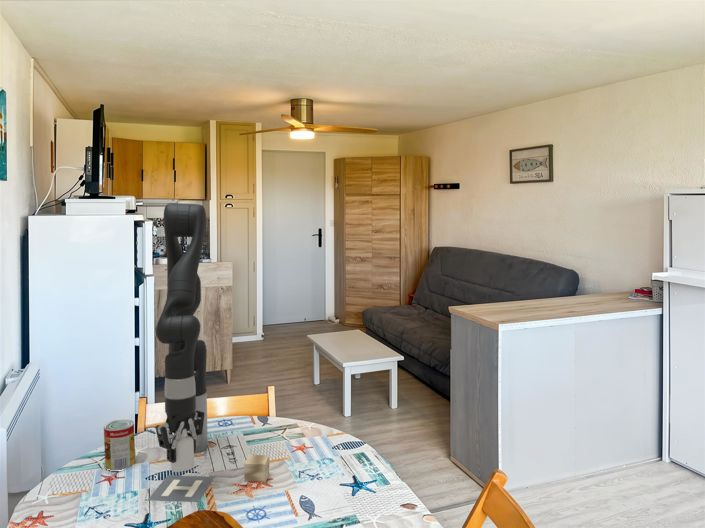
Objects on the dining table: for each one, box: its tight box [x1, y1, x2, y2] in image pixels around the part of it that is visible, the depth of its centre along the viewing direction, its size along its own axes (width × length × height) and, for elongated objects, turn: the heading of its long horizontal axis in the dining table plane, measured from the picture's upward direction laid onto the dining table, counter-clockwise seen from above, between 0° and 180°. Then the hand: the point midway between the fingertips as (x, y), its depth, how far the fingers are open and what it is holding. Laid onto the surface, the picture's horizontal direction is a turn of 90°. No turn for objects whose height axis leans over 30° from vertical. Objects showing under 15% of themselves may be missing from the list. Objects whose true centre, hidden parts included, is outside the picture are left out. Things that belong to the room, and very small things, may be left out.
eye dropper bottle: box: [170, 429, 195, 473], centre depth 139 cm, size 4×6×12 cm
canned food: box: [103, 418, 136, 470], centre depth 154 cm, size 8×8×12 cm
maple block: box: [243, 454, 270, 485], centre depth 147 cm, size 6×6×6 cm
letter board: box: [147, 474, 216, 503], centre depth 141 cm, size 13×13×1 cm
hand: (181, 457), depth 140 cm, fingers closed on eye dropper bottle, 5 cm apart
